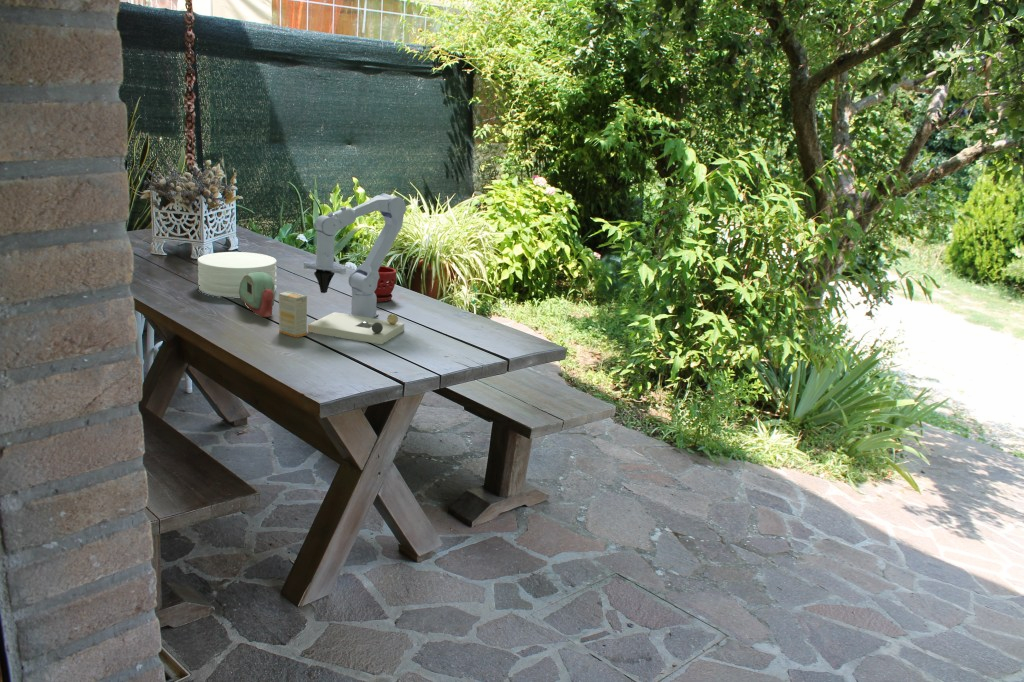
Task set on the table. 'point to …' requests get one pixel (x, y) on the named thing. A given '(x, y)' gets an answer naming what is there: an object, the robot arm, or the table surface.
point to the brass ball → (392, 319)
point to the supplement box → (293, 314)
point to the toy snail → (258, 293)
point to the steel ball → (365, 325)
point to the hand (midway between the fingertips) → (323, 292)
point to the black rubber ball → (377, 327)
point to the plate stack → (231, 271)
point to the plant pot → (385, 283)
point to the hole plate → (354, 328)
